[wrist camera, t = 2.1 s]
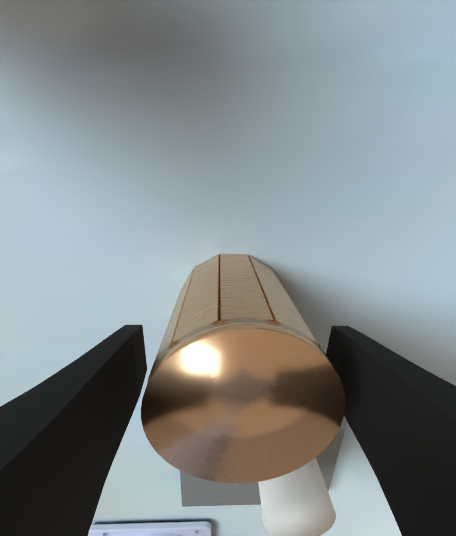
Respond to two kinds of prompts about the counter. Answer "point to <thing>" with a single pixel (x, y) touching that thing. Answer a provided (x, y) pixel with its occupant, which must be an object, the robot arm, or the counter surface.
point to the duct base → (248, 490)
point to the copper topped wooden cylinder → (239, 379)
